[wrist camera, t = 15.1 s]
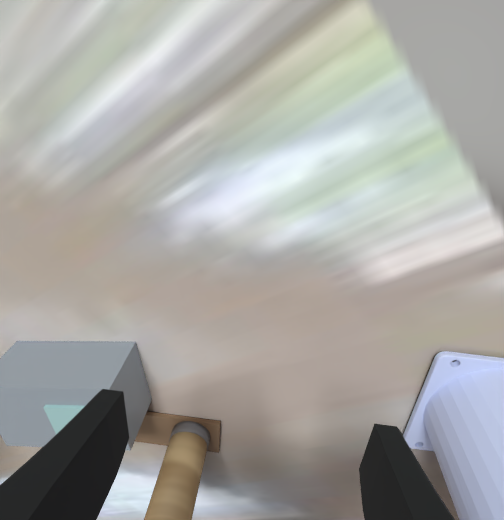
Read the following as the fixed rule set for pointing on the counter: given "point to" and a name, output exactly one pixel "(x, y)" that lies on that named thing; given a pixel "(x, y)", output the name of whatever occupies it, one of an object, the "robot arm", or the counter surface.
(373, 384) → the counter surface
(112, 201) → the counter surface
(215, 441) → the strip
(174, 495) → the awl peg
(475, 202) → the counter surface
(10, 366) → the finder block
